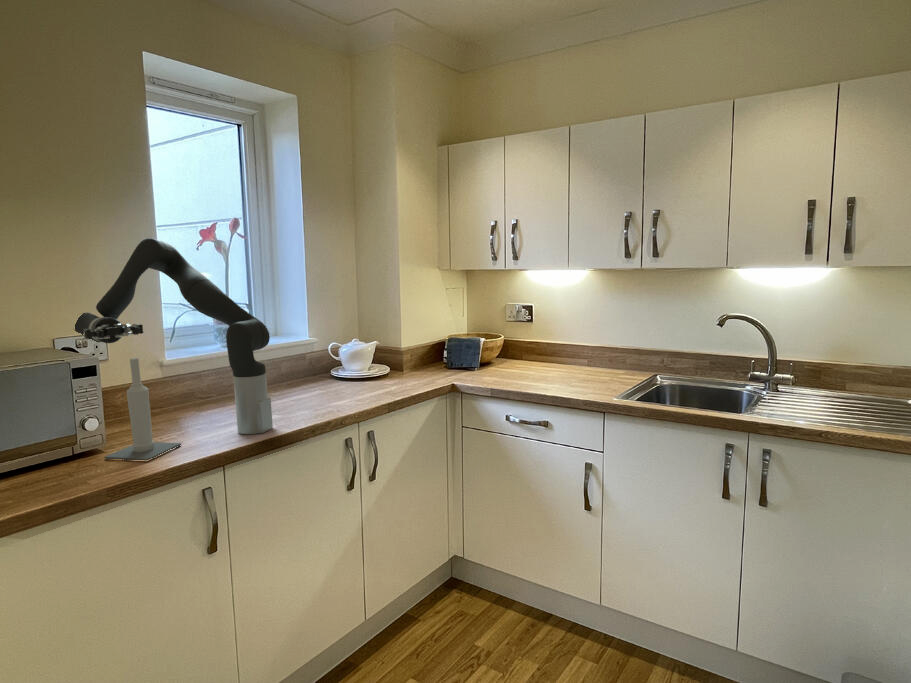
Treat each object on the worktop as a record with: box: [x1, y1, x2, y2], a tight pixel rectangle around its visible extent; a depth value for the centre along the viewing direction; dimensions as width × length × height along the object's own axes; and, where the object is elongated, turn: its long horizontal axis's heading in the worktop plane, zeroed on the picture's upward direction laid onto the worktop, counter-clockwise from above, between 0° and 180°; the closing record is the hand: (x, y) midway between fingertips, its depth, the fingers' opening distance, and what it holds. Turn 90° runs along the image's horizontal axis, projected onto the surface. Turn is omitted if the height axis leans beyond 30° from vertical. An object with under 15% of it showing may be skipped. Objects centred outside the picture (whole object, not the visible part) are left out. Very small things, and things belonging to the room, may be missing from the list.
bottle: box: [126, 357, 155, 452], centre depth 154 cm, size 5×5×25 cm
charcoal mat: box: [104, 441, 182, 460], centre depth 156 cm, size 13×13×1 cm
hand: (120, 332), depth 159 cm, fingers open, 8 cm apart
